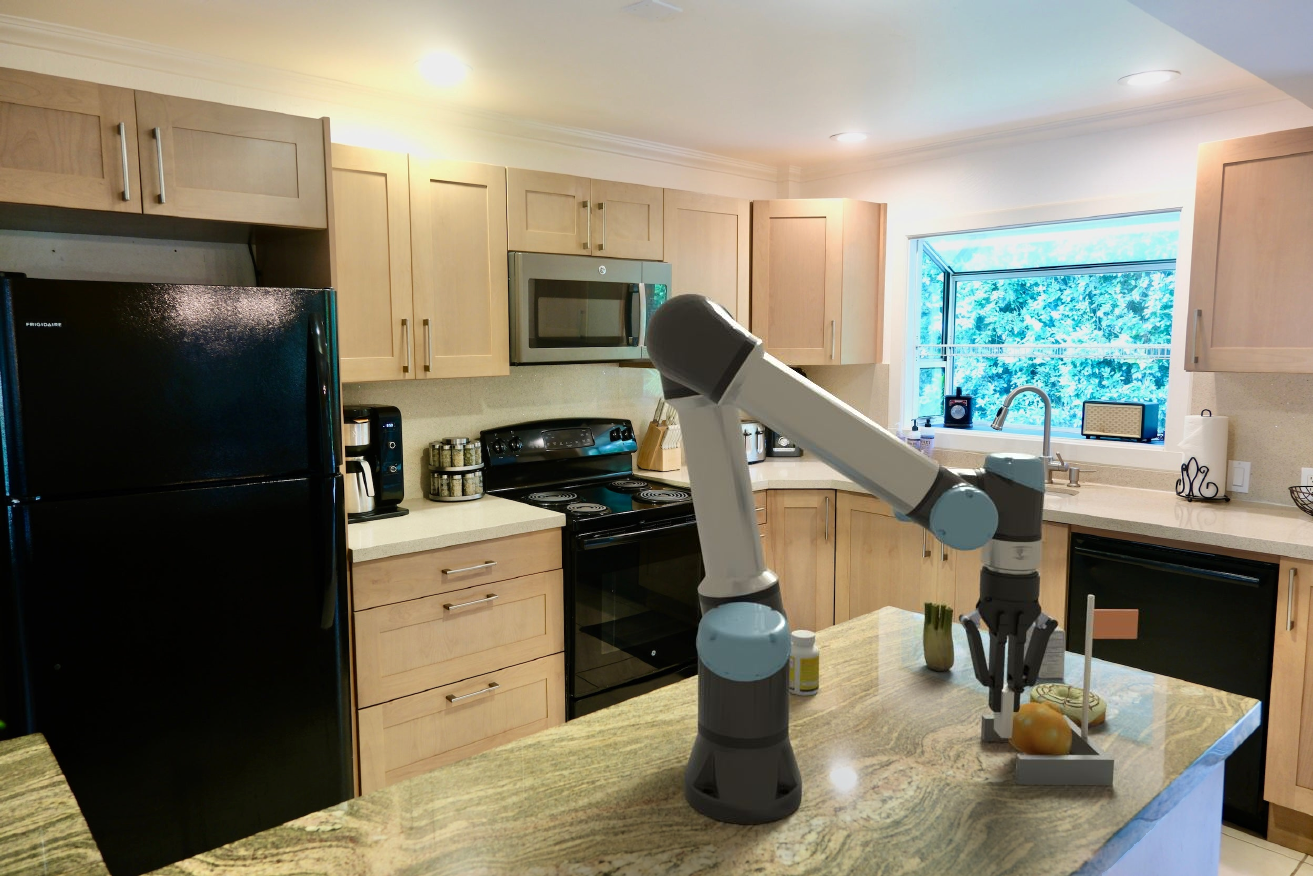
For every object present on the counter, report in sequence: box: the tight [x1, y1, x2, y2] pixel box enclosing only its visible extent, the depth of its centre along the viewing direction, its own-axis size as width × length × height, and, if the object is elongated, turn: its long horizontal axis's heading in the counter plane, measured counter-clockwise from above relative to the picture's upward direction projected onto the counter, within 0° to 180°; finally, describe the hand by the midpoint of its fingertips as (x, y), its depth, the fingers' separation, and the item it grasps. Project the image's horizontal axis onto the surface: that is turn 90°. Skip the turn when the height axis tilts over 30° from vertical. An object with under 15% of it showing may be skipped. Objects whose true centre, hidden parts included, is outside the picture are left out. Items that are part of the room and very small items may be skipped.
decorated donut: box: [1029, 682, 1108, 727], centre depth 130 cm, size 10×11×4 cm
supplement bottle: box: [789, 629, 820, 697], centre depth 139 cm, size 5×5×10 cm
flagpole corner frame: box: [980, 594, 1139, 786], centre depth 114 cm, size 18×13×24 cm
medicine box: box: [1024, 622, 1066, 680], centre depth 148 cm, size 8×4×9 cm, turn 179°
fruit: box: [1008, 701, 1072, 755], centre depth 115 cm, size 8×8×8 cm
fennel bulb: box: [922, 600, 955, 672], centre depth 149 cm, size 6×5×12 cm
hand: (1002, 733), depth 115 cm, fingers closed
